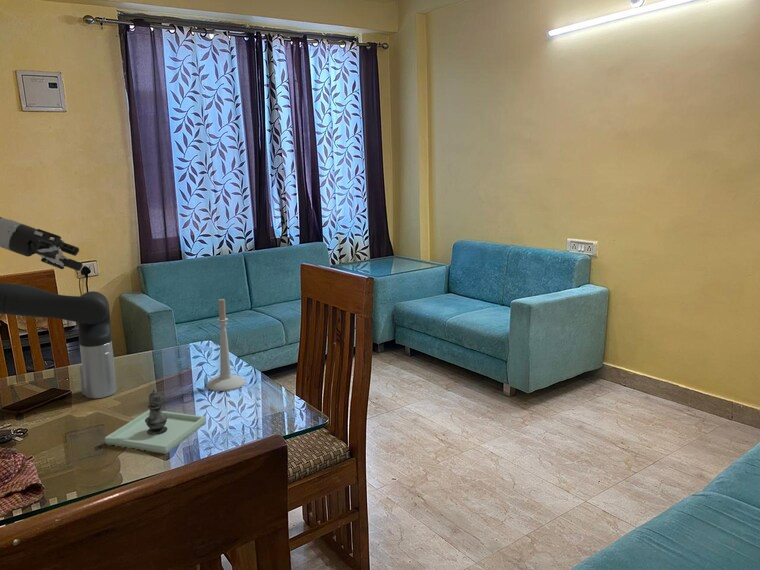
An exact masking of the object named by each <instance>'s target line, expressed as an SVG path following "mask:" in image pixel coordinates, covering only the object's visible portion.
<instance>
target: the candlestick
mask: <svg viewBox="0 0 760 570" xmlns="http://www.w3.org/2000/svg"><path fill="white" fill-rule="evenodd" d="M218 314H219V316H218V317H219V318H216V319H217V321H218V325H219V327H220V329H219V332H220V334H219V340H220V341H219V343H220V344H219V345H220V346H219V347H220V349H219V351H220V352H219V359H220V360H219V367H220V368H219V369H220V370H219V373H220V374H219V375H218V376H214V377H212V378H211V379H209V380H208V381H207V383H206V389H208V390H209V389H210V391H212V390H213V391H212V392H217V391H226V392H231V391H230V390H233V391H236V390H239V389H241V388H243V387H244V386H246V384H245V383H247V381H246V379H245V378H244V377H243V376H240V375H237V374H232V369H231V361H230V351H229V342H228V334H227V325H228V320H229V318H227V317H226V315H227V314H226V299H224V298H222V297H221V299H220V298H219V299H218ZM242 386H243V387H242ZM240 387H241V388H240ZM238 388H239V389H238ZM235 389H236V390H235Z"/></svg>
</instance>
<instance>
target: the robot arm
mask: <svg viewBox="0 0 760 570" xmlns="http://www.w3.org/2000/svg"><path fill="white" fill-rule="evenodd" d="M0 248H2V249H5V250H7V251H11V252H13V253H16V254H19V255H22V256H25V257H32V256H34V255H35V254H37V255H38V256H39V257H41V259H40V261H41V262H42V263H43V264H44V263H45V264H47V265H50V266H52V267H55V268H58V269H60V270H64V269H65V268H69V269H72V270H74V271H77V272H79V271H81V270H82V268H83V267H84V266H83V263H82V262H80V261H78V260H74V259H71V258H69V257H67V256H66V255H64V253H65V254H67V255H71V256H74V257H75V256H77V255H78V254H79V252H80V248H79V247H78V246H75V245H72V244H70V243H66V242H65V240H63V239H62V237H61V236H60V235H59V234H56V233H53V232H49V231H46V230H43V229H40V228H35V227H32V226H30V225H27V224H24V223H21V222H18V221H16V220H12V219H8V218H5V217H1V216H0ZM109 303H110V302H109V301H108V298H107V297H106V296H105V295H104V294H103V293H100V291H99V292H98V291H87V292H85V293H83V294H81V295H80V296H79V295H64V294H58V293H54V292H50V291H47V290H44V289H41V288H38V287H35V286H30V285H28V284H27V285H26V284H17V283H10V282H0V314H1V315H2V314H3V315H4V314H5V315H11V316H20V317H21V316H22V317H33V318H34V317H35V318H50V319H59V320H64V321H70V322H75V323H78V324H77V325H78V342H79V343H78V344H79V351H80V359H81V365H80V367H79V376H80V386H81V394H82V396H85V397H86V398H89V399H102V398H106V397H110V396H112V395H114V394H116V392H117V381H116V371H115V370H116V369H115V360H114V350H113V341H112V340H113V339H112V324H111V312H110V304H109Z"/></svg>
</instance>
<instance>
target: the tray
mask: <svg viewBox="0 0 760 570" xmlns="http://www.w3.org/2000/svg"><path fill="white" fill-rule="evenodd" d="M162 414H164V415H166V416H167V417H168V418H167V421H166V424H165V425H164V426H165V427H167V431H166V432H165V433H163V434H159V435H149V434H148V433H147V431H148V430H149V429H150V428H149V427H148V426H147V424H146V422H145V419H146V418H147V417H149V416H150V409H148V410H147V411H145V412H144V413H142V414H140V415H139V416H137V417H136V418H134V419H132V420H130V421H128V422H127V423H126V424H124V425H122V426H121V427H119V428H118V429H116V430H114V431H112V433H109V434H108V435H107V436H105V437H104V445H105V444H107V445H106V446H111V445H115V446H114V447H117V446H123V447H122V448H124V447H129V448H128V449H130V448H135V449H134V450H137V449H140V450H139V451H144V450H146V451H145V452H150V451H151V452H150V453H156V454H157V453H158V454H164V455H167V454H168V453H170V452H171V451H172V450H174V449H175V448H176V447H177V446H178V445H180V444H181V443H183V442H184V441H185V440H186V439H188V438H189V437H191V435H193V434H194V433H195V432H197V431H198V430H199V429H200V428H202V427H203V426H204V425H206V424H207V419H206V418H207V416H203V415H195V414H188V413H180V412H173V411H166V410H165V411H163V410H162Z"/></svg>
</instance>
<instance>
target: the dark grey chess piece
mask: <svg viewBox="0 0 760 570" xmlns="http://www.w3.org/2000/svg"><path fill="white" fill-rule="evenodd" d="M161 401H162V400H161V394H160V393H159V392H156V390H155V389H153V390H152V393H150V394H149V396H148V402H149V404H148V406H147V408H148V409H149V410H150V416H149V417H147V418H146V419H145V422H146V424H147V426H148V427H149V428H150V429H149V430H148V431H147V433H148V434H149V435H159V434H163V433H165V432H166V431H167V427H165V426H164V425H165V424H166V421H167V418H168V417H167V416H166V415H164V414H162V411H163V410H162V407H163V404H162V403H161Z"/></svg>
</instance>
